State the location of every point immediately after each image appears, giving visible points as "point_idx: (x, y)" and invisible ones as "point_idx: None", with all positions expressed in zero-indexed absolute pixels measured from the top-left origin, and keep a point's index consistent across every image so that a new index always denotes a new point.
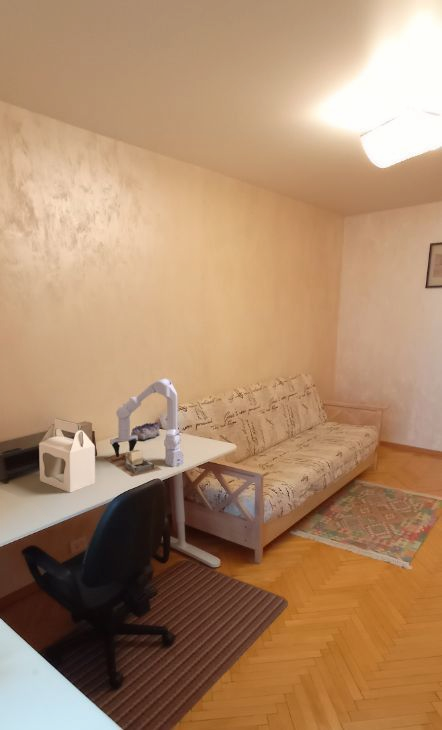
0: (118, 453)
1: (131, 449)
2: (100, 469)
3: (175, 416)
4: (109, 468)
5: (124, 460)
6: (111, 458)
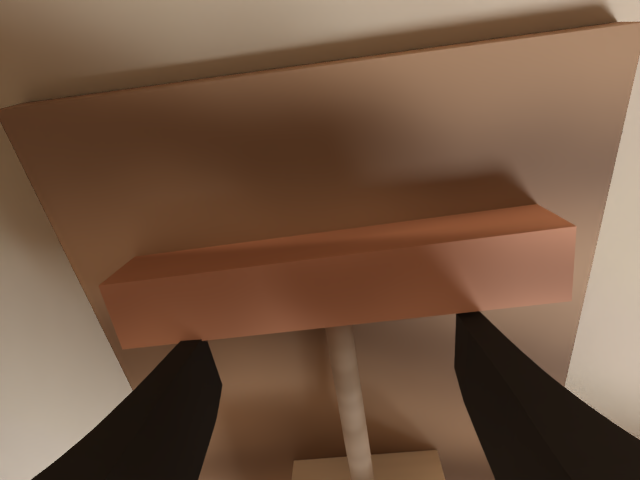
0: (195, 455)
1: (490, 455)
2: (8, 412)
3: None
4: None
5: (311, 363)
6: (126, 269)
